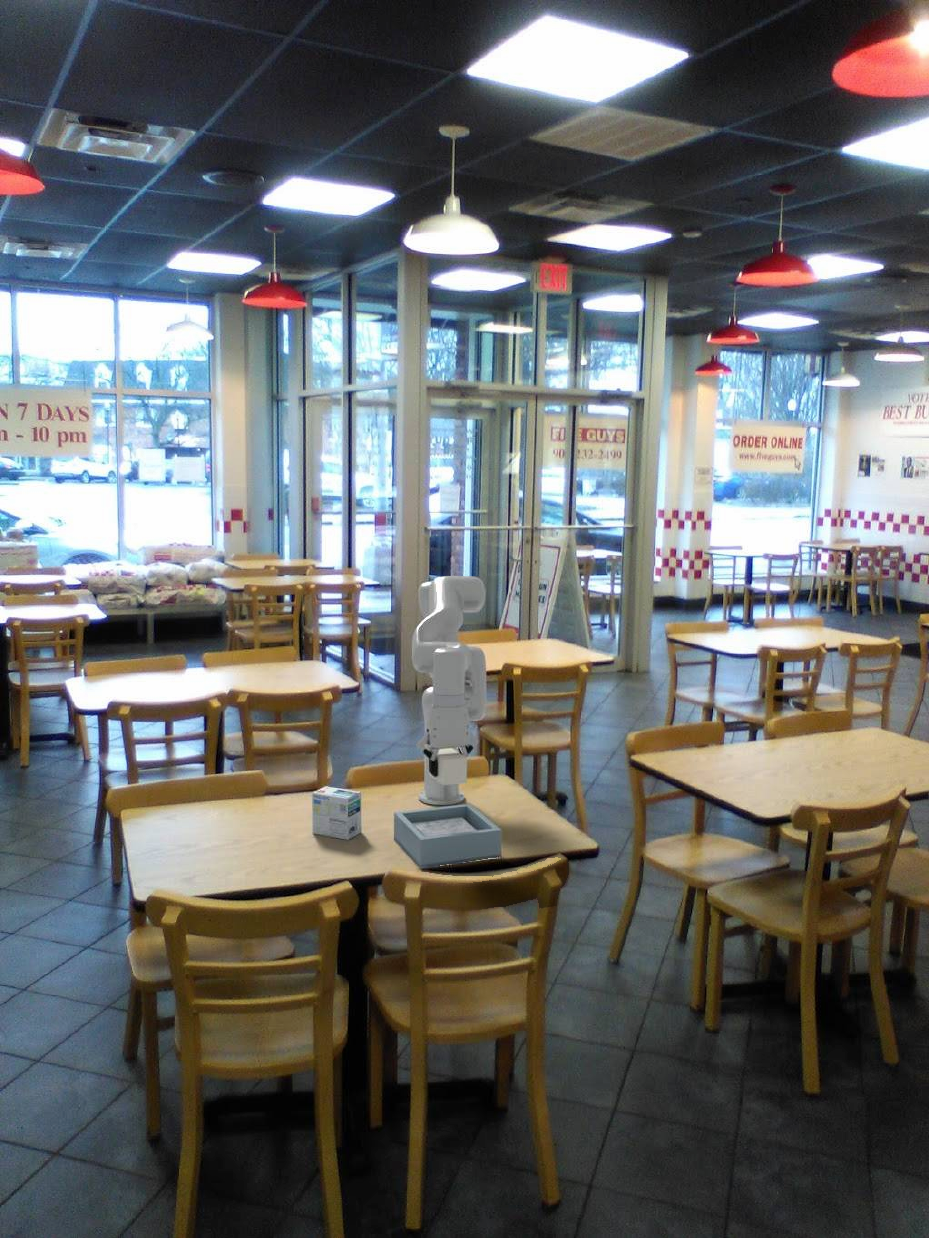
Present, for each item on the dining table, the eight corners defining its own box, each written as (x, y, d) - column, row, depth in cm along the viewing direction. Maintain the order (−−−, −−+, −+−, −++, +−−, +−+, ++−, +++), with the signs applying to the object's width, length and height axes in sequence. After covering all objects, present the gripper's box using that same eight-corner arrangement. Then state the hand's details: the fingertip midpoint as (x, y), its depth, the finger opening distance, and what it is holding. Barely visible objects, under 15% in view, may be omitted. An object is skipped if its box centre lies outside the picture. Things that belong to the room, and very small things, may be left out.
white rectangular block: (428, 774, 258) (428, 750, 257) (451, 772, 260) (451, 748, 259) (443, 785, 250) (443, 760, 249) (466, 782, 252) (467, 757, 251)
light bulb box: (362, 832, 268) (362, 790, 266) (348, 841, 262) (348, 798, 260) (325, 825, 273) (325, 784, 271) (311, 833, 267) (311, 792, 265)
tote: (393, 839, 263) (394, 812, 262) (469, 830, 271) (469, 803, 270) (420, 869, 245) (420, 839, 244) (500, 858, 252) (501, 829, 251)
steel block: (412, 838, 261) (412, 823, 261) (461, 832, 266) (461, 817, 265) (429, 857, 249) (430, 841, 249) (481, 850, 254) (481, 834, 253)
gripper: (476, 694, 259) (475, 766, 261) (408, 699, 253) (407, 773, 255) (488, 701, 252) (486, 775, 255) (418, 706, 246) (418, 781, 248)
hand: (447, 773), depth 255 cm, fingers closed on white rectangular block, 6 cm apart
